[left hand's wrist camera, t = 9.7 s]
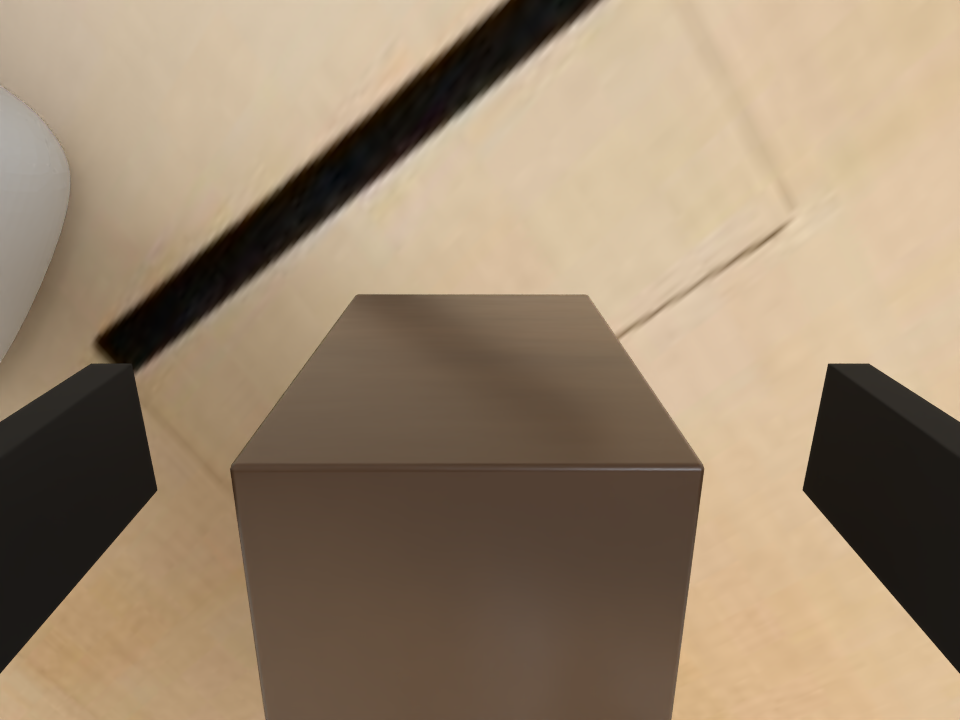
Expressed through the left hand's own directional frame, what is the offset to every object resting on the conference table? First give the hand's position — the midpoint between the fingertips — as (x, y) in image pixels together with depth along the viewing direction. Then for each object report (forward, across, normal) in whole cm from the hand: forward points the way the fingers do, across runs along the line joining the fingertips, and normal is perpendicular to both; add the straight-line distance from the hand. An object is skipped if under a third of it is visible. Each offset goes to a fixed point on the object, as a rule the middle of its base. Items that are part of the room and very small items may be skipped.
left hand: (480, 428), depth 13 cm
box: (+5, 0, -13) cm, 14 cm away
